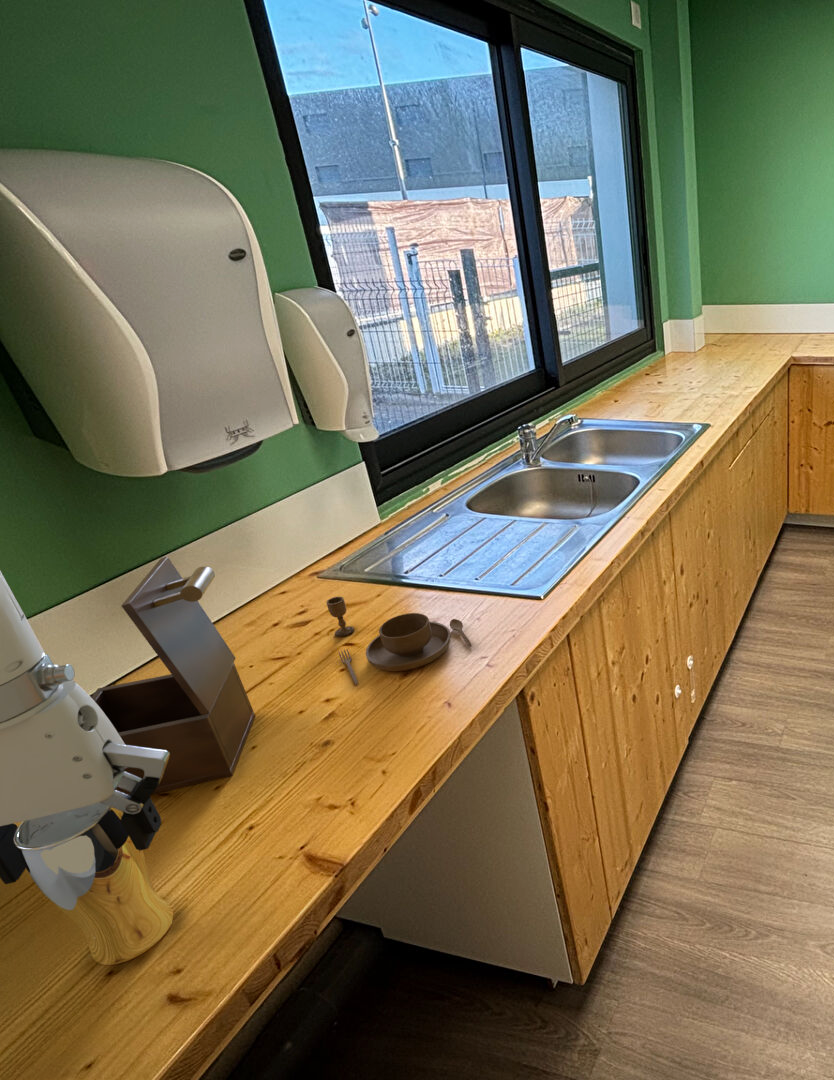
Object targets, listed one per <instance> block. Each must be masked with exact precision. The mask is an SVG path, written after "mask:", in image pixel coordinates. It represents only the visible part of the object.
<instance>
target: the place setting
mask: <svg viewBox="0 0 834 1080" xmlns="http://www.w3.org/2000/svg"><path fill="white" fill-rule="evenodd" d="M325 603H326V607H327V609H328V612H329V614H330V616H332V618H336V619H337V620H338V623H337V625H338V626H339V627H340V628H338V629H336V631H335V632H334V636H335V637H337V638H343V637H347V636H349V635H350V636H351V634H353V633H354V632H355V627H353V626H347V622H346V620H345V619H344V616H345V615H346V614H347V606H346V602H345V599H344V597H343V596H334V597H331V598H329V599H327V600H326V602H325ZM463 626H464V625H463V622H462V621H461V620H460V619H457V618H452V619H451V620H450V622H449V627H450V629H452V630H453V631H457V632H458V633H459V634H460V635H461V637H462V639H463V641H464V642H465V644H466V645H467V646H468V647H472V645H473V644H472V642H471V641H470V639H469V638H468V637H467V635H466V633H464V631H463ZM449 627H448V626H446V625H445V624H444V623H440V622H437V621H431V620H430V619H429V617H428V616H427V615H425V614H423V613H419V612H410V613H403V614H399V615H396V616H394V617H391V618H389V619H388V620H386V621H385V622H383V623H382V624H381V625H380V626H379V628H378V634H379V635H377V636H376V637H374V639H372V640H371V641H370V642H369V644H368V645H367V647H366V648H365V656H366V659H367V661H368V663H369V664H370V665H371V666H372V667H374V668H375V669H378V670H381V671H386V672H404V671H409V670H414V669H417V668H420V667H423V666H425V665H427V664H430V663H431V662H433V661H435V660H436V659H438V658H439V657H440V656H442V654H444V653H445V652H446V650H448V648H449V647H450V643H451V639H452V635H451V631H450V629H449ZM340 652H341V653H340ZM338 656H339V658H340V661H341V662H342V664H346V666H347V667H346V668H347V669H348V672H349V674H350V677H351V678H352V681H353V683H354V685H355V686H357V685H359V681H358V678H357V675H356V673H355V671H354V669H353V667H352V665H351V662H352V657H351V654H350V651H349V650H348V649H346V650H345V649H343V650H342V649H341V650H340V651H338Z"/></svg>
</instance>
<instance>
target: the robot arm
mask: <svg viewBox="0 0 834 1080" xmlns="http://www.w3.org/2000/svg"><path fill="white" fill-rule="evenodd" d="M75 675H76V671H75V669H74V666H73V665H72V664H62V665H60V664H54V662H53V661H52V659H51V657H50V655H49V654H46V651H44V649H43V647H42V645H41V642H40V641H39V639H38V638H37V636H36V633H35V632H34V630H33V628H32V626H31V624H30V622H29V620H28V619H27V617H26V615H25V613H24V611H23V610H22V607H21V606H20V604H19V602H18V601H17V598H16V597H15V595H14V592H13V591H12V589H11V587H10V585H9V584H8V582H7V580H6V579H5V576H4V575H3V573H2V571H1V570H0V879H1V881H2V882H3V884H4V885H10V884H14V883H16V882H17V881H18V880H20V877H21V876H22V875H23V873H24V872H25V870H27V869H26V867H25V865H24V863H23V861H22V858H21V856H20V854H19V852H18V850H17V848H16V846H15V845H14V843H13V836H14V833H15V831H16V829H17V828H18V827H19V826H18V825H17V823H22V822H23V821H26V820H30V819H35V818H39V817H43V816H48V815H52V814H56V813H60V812H65V811H69V810H73V809H77V808H81V807H85V806H89V805H93V804H96V803H99V802H100V803H102V804H105V805H108V806H110V807H113V808H115V809H118V810H120V811H123V812H124V813H123V815H122V817H121V823H122V824H123V826H124V828H125V830H126V832H127V833H128V835H129V837H130V839H131V841H132V842H133V844H134V846H135V848H136V849H137V850H139V851H141V850H144V851H145V850H148V849H149V847H150V846H151V844H152V841H153V839H154V837H155V835H156V833H157V832H158V831H159V830H160V828H161V826H162V818H161V816H160V814H159V811H158V809H157V807H156V806H155V804H154V802H153V800H152V798H151V797H152V795H154V794H153V793H154V791H155V790H156V789H157V787H158V785H159V783H160V781H161V779H162V777H163V775H164V771H165V769H166V766H167V763H168V760H169V757H170V753H169V752H168V751H166V750H160V749H153V748H145V747H138V746H131V745H125V744H124V742H123V740H122V738H121V737H120V735H119V734H118V732H117V731H116V729H115V728H114V726H113V725H112V723H111V722H110V720H109V719H108V718H107V716H106V715H105V714H104V712H103V711H102V710H101V708H100V707H99V706H98V705H97V704H96V702H95V701H94V700H93V699H92V698H91V697H92V696H90V694H89V693H88V692H86V690H85V689H83V687H82V686H80V685H79V684H78V683H77V682H76V681H75V680H74V679H75ZM128 767H132V768H139V769H142V770H143V771H144V777H143V778H139V777H137V776H135V775H132V774H130V773H128V772H125V771H123V770H124V769H126V768H128ZM116 787H119V788H122V789H124V790H127V791H129V792H131V794H130V795H127V794H125V793H122V792H120V791H117V790H115V788H116Z"/></svg>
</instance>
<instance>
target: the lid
mask: <svg viewBox="0 0 834 1080" xmlns="http://www.w3.org/2000/svg"><path fill="white" fill-rule="evenodd" d="M215 577H216V573H215V571H214V569H212V568H211V567H209V566H199V567H197V568H196V569H195V570H194V571H193V573H192V574H191V575H189V576H186V577H182V576H181V574H180V572H179V571H178V570H177V568H176V567H175V565H174V564H173V562H172V561H171V559H170V557H169V556H165V557H161V558H160V559H159V560H158V561H157V562H156V564H155V565H153V566H152V568H151V569H150V571H149V572H148V573H147V574H146V576H145V577H144V578H143V579H142V580H141V581H140V583H139V584H138V585H137V586H136V587H135V588H134V590H133V591H132V592H131V593H130V594H129V596H128V597H127V598H126V599H125V600H124V601H123V603H122V604H121V608H122V609H123V611H124V612H125V613H126V614H127V616H128V617H129V618H130V620H131V621H132V622H133V624H134V625H135V627H136V628H137V630H138V631H139V632H140V634H141V635H142V636H143V638H144V639H145V640H146V642H147V643H148V645H149V646H150V647H151V648H152V650H153V651H154V652H155V654H156V655H157V657H158V658H159V659H160V661H161V662H162V663H163V665H164V666H165V667H166V669H167V670H168V672H169V673H170V674H172V675H173V677H174V678H175V680H176V681H177V682H178V684H179V685H180V686H181V688H182V689H183V690H184V692H185V693H186V694H187V696H188V697H189V699H190V700H191V701H192V703H193V704H194V705H195V707H196V708H197V709H198V711H199V712H200V713H201V715H205V714H208V713H209V712H210V710H211V708H212V706H213V704H214V702H215V700H216V698H217V696H218V694H219V692H220V690H221V688H222V685H223V683H224V681H225V679H226V677H227V675H228V673H229V671H230V669H231V667H232V665H233V663H234V664H235V661H236V656H235V655H234V653H233V652H232V649H230V647H229V645H228V644H227V643H226V641H225V640H224V638H223V636H222V635H221V633H220V632H219V631H218V629H217V627H216V626H215V625H214V623H213V622H212V620H211V619H210V617H209V616H208V614H207V613H206V611H205V610H204V608H203V606H202V605H201V604H200V602H199V601H200V600H201V599H202V598H203V596H204V595H205V593H206V592H207V590H208V588H209V587H210V586H211V584H212V583H213V581H214V579H215Z"/></svg>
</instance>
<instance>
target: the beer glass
mask: <svg viewBox="0 0 834 1080" xmlns="http://www.w3.org/2000/svg"><path fill="white" fill-rule="evenodd" d="M123 813H124V812H123V811H120V810H118V809H115V808H113V807H110V806H108V805H105V804H102V803H100V802H99V803H96V804H93V805H89V806H85V807H81V808H77V809H73V810H69V811H65V812H60V813H56V814H52V815H48V816H43V817H39V818H35V819H30V820H26V821H22V822H20V824H19V825H18V826H17V827H18V828H17V829H16V831H15V833H14V836H13V843H14V845H15V846H16V848H17V850H18V852H19V854H20V856H21V858H22V861H23V863H24V865H25V867H26V869H25V870H26V871H27V872H28V875H29V876H30V877H31V879H32V882H34V884H35V885H36V886H37V888H38V889H39V890H40V892H41V894H43V895H44V896H45V897H46V898H47V899H48V900H49V902H51V903H52V904H53V905H54V906H56V907H57V908H58V909H59V910H60V911H62V913H64V914H65V915H66V916H68V917H69V918H70V919H71V920H73V921H74V922H75V923H76V924H77V925H78V926H79V928H80V929H81V930H82V931H83V933H84V935H85V937H86V940H87V943H88V948H89V951H90V954H91V958H92V959H93V960H94V961H95V962H96V963H97V964H100V965H103V966H113V965H114V966H115V965H118V964H122V963H123V964H124V963H125V962H129V961H131V960H133V959H135V958H137V957H139V956H141V955H142V954H144V953H145V952H147V951H148V950H150V949H151V948H152V947H154V946H155V945H156V944H157V943H158V942H159V941H160V940H161V939H163V937H165V935H166V933H167V932H168V931H169V929H170V928H171V926H172V924H173V920H174V911H173V908H172V907H171V906H170V905H169V903H168V902H167V901H165V899H163V898H162V896H160V895H159V894H158V892H157V891H156V890H155V888H154V886H153V883H152V880H151V877H150V873H149V868H148V863H147V859H146V854H145V850H141V851H139V850H137V849H136V848H135V846H134V844H133V842H132V841H131V839H130V837H129V835H128V833H127V832H126V830H125V828H124V826H123V824H122V823H121V817H122V815H123Z"/></svg>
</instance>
